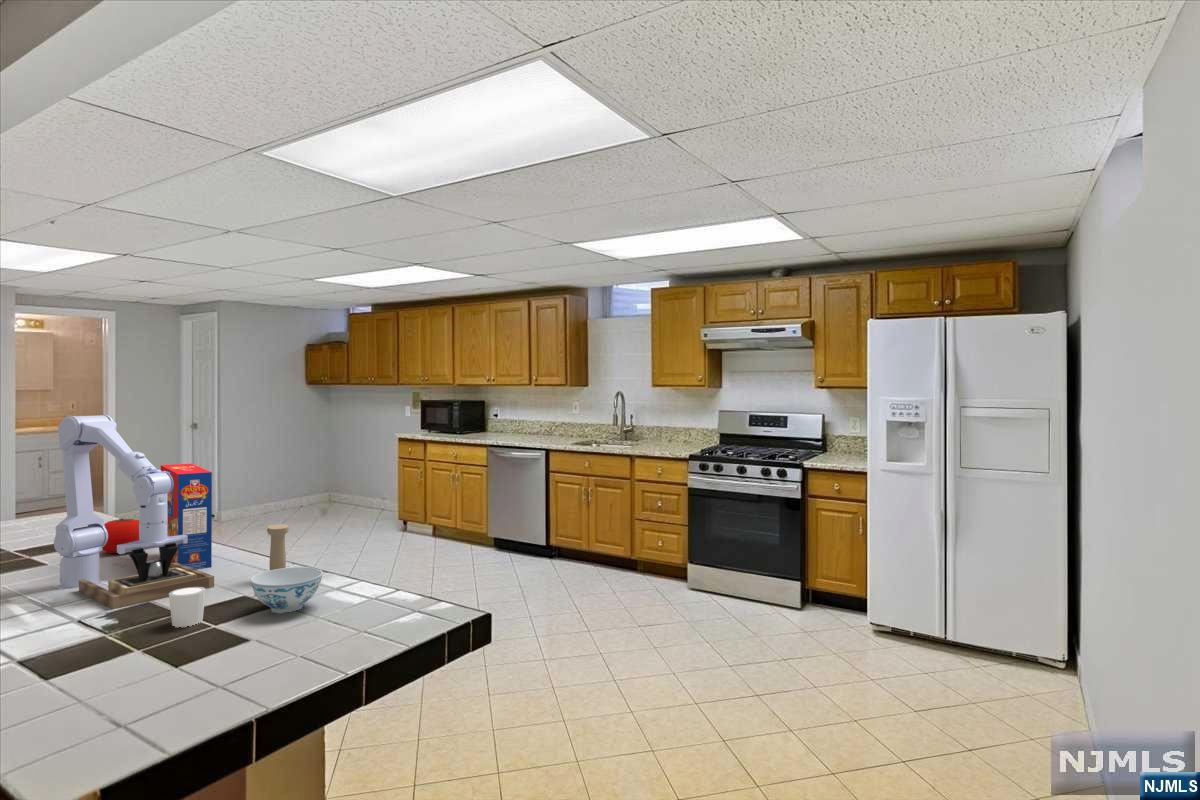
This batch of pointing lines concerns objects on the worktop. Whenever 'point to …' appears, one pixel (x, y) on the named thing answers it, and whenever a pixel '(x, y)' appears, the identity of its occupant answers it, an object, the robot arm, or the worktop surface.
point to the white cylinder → (187, 606)
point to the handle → (277, 546)
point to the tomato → (120, 533)
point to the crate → (135, 584)
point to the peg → (154, 570)
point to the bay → (146, 594)
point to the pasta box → (190, 514)
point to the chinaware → (286, 587)
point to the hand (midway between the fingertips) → (153, 577)
